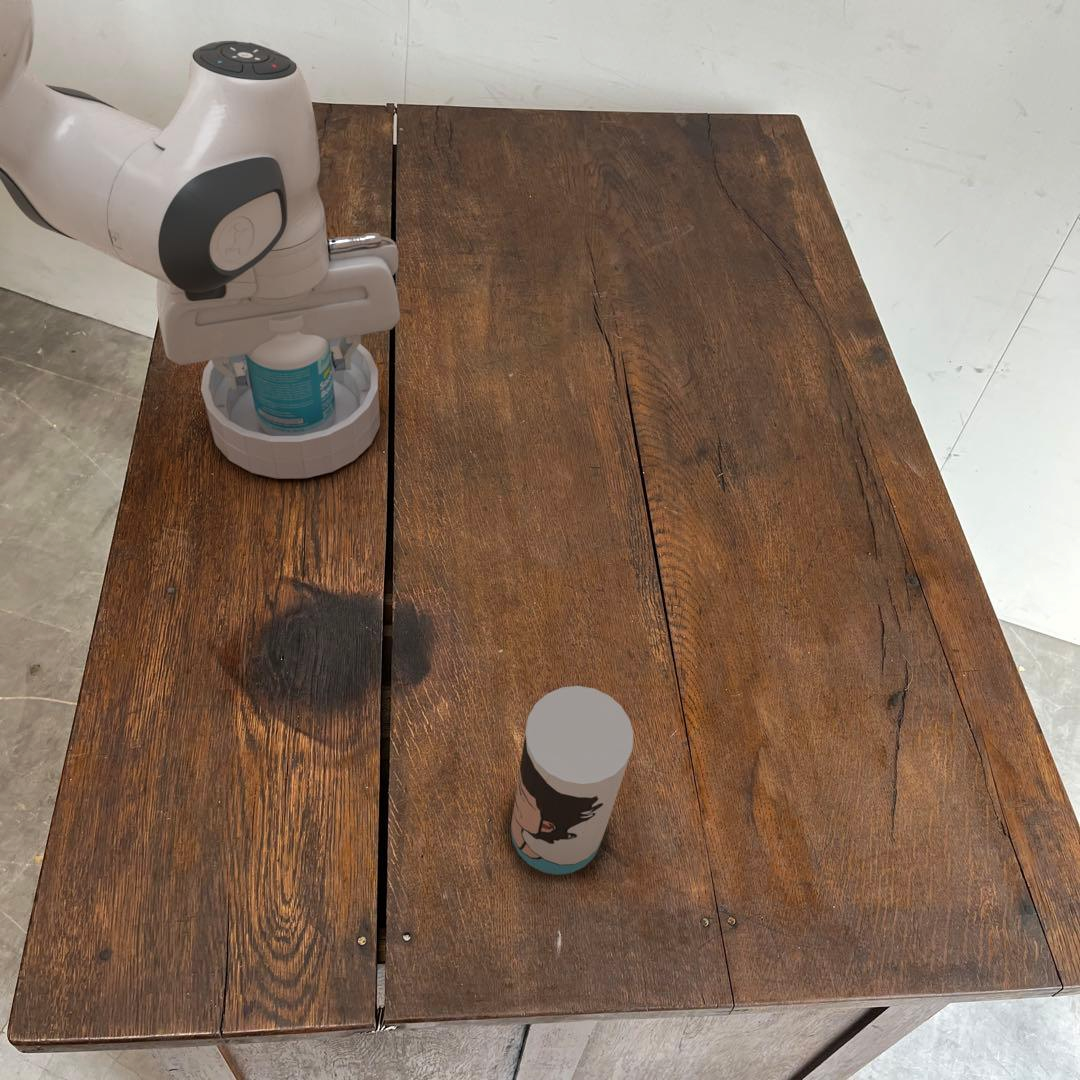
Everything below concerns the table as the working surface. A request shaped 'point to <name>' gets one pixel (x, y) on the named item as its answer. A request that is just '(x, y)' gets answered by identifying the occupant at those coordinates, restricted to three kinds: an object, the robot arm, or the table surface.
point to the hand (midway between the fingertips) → (290, 375)
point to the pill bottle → (292, 381)
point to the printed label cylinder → (569, 777)
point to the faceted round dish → (295, 454)
